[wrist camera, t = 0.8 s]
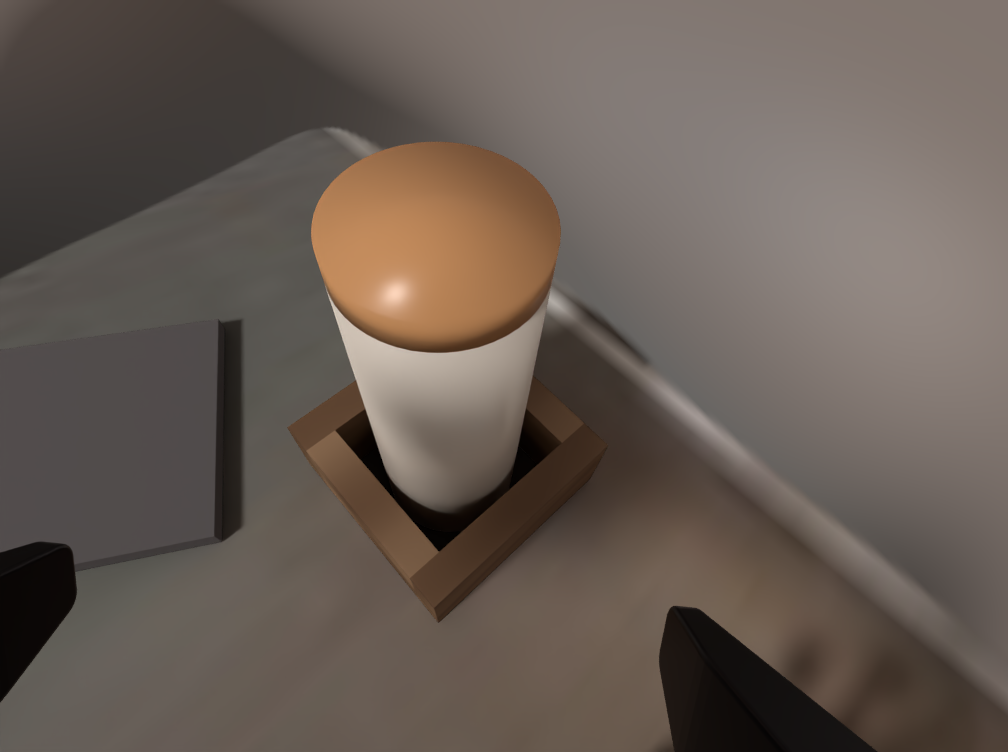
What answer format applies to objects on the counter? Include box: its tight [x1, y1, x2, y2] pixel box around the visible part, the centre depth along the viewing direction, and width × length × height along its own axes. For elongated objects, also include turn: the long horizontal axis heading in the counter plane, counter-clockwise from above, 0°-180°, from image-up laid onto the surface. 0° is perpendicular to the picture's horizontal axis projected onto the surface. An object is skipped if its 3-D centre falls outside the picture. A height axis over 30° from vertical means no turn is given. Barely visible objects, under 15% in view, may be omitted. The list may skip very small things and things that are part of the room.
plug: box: [311, 142, 561, 532], centre depth 18 cm, size 5×5×14 cm
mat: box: [0, 319, 225, 571], centre depth 23 cm, size 10×10×1 cm
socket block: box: [287, 376, 608, 623], centre depth 22 cm, size 8×8×4 cm
